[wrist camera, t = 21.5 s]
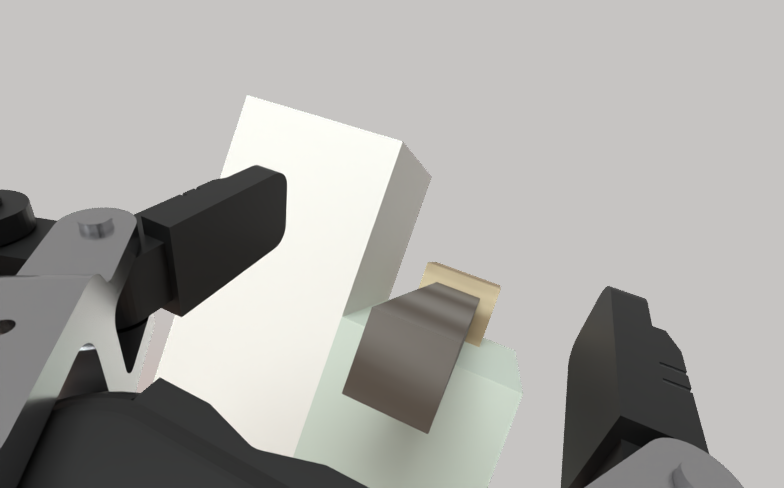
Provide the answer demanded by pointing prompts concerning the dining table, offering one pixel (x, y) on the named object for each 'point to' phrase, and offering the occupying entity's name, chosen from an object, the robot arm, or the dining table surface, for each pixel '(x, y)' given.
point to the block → (419, 344)
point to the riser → (333, 317)
